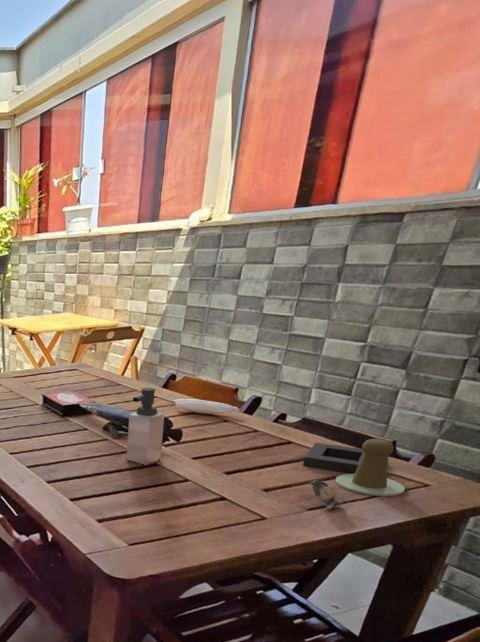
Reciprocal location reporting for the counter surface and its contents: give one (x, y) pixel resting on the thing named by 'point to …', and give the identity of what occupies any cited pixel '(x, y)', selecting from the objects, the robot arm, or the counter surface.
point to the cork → (373, 464)
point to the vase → (324, 493)
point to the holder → (320, 459)
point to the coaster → (390, 490)
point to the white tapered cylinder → (204, 406)
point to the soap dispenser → (145, 430)
